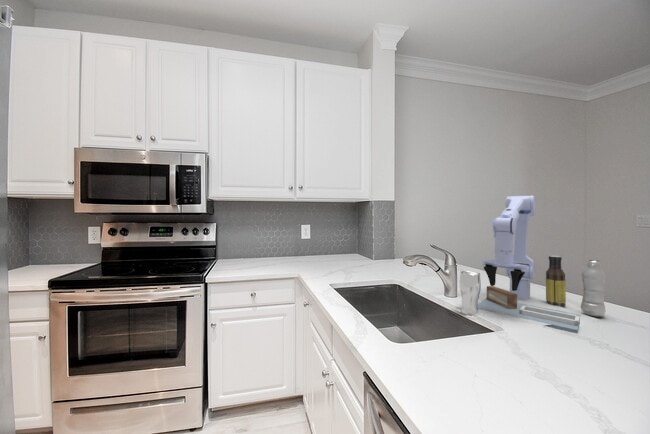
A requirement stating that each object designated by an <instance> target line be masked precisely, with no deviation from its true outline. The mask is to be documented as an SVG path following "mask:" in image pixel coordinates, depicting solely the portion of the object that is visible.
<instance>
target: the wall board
mask: <svg viewBox="0 0 650 434" xmlns="http://www.w3.org/2000/svg"><path fill="white" fill-rule="evenodd" d="M479 309H480V310H484V311H488V312H492V313H496V314H501V315H502V314H503V315H506V316H511V317H516V318H521V319H524V320H530V321H535V322H538V323H544V324H545V325H542V326H543V327H548V328H552V329H557V330H562V331H567V332H571V333H575V334H578V333H579V328H580V319H581V316H582V315H581V314H580V313H579V314H578V313H573V312H568V311H563V310H557V309H553V308H547V307H542V306H537V305H532V304H527V303H526V304H525V303H519V302H517V309H509V308H506V307H504V306H501V305H499V304H496V303H494V302H492V301H489V300H487V299H486V297H484V299H482V300H480V302H478V310H479Z"/></svg>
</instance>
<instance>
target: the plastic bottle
mask: <svg viewBox="0 0 650 434" xmlns="http://www.w3.org/2000/svg"><path fill="white" fill-rule="evenodd" d="M601 267H602V261H601V260H598V259H597V260H596V259H587V260H586V267H585V268H584V269H583V270H582V272H581V276H580V277H581V282H582V288H583V290H582V291H583V293H582V301H581V303H580V310H581V312H582V313H583V314H584V315H587V316H591V317H597V318H599V317H600V318H601V317H604V316H605V315H606V305H605V301H604V300H605V299H604V289H605V283H606V278H607V276H606V273H605V272H604V271H603V269H602V268H601Z"/></svg>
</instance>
